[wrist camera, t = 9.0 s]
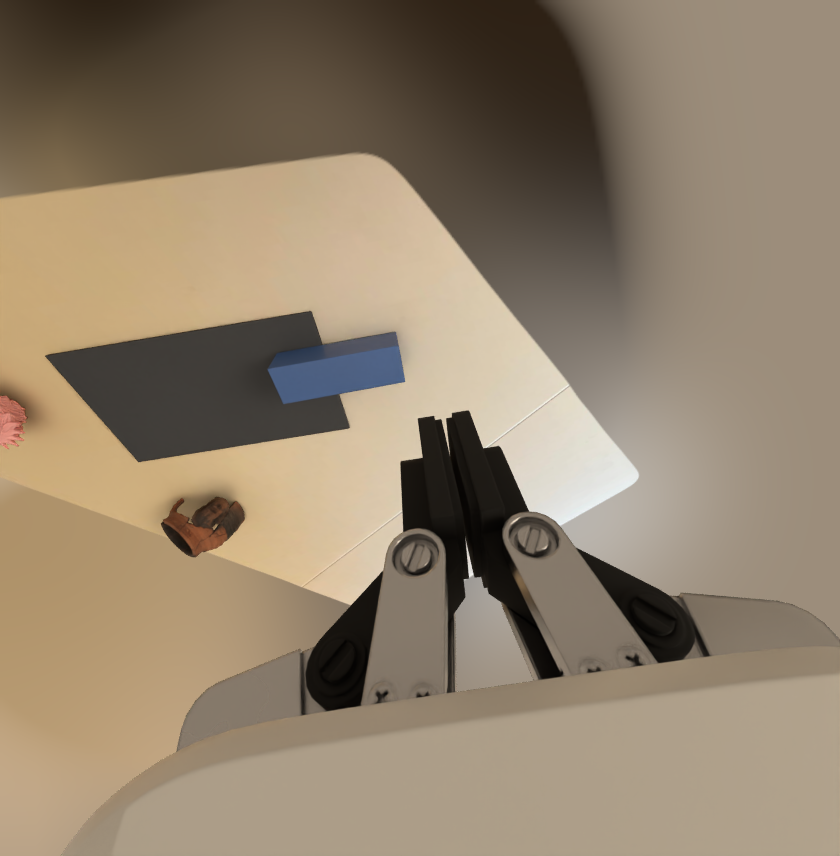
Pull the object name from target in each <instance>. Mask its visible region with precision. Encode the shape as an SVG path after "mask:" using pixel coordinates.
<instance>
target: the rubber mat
mask: <svg viewBox="0 0 840 856" xmlns="http://www.w3.org/2000/svg"><path fill="white" fill-rule="evenodd" d="M319 345H322V342H321V339H320V336H319V333H318V330H317V327H316V324H315V321H314V318H313V315H312V312H311V311H309V312H303V313H297V314H291V315H285V316H279V317H273V318H267V319H261V320H254V321H248V322H242V323H236V324H230V325H224V326H218V327H212V328H206V329H200V330H194V331H188V332H182V333H176V334H170V335H164V336H158V337H152V338H146V339H140V340H134V341H128V342H122V343H116V344H110V345H104V346H98V347H92V348H86V349H80V350H74V351H68V352H62V353H56V354H50V355H46V356H45V357H46V358H47V359H48V360H49V361H50V362H51V363H52V365H53V366H54V367H55V368H56V369H57V370H58V371H59V373H60V374H61V375H62V376H63V377H64V378H65V379H66V380H67V382H68V383H69V384H70V385H71V386H72V387H73V388H74V389H75V391H76V392H77V393H78V394H79V395H80V396H81V397H82V399H83V400H84V401H85V402H86V403H87V404H88V405H89V406H90V408H91V409H92V410H93V411H94V412H95V413H96V414H97V416H98V417H99V418H100V419H101V420H102V421H103V422H104V423H105V425H106V426H107V427H108V428H109V429H110V430H111V431H112V433H113V434H114V435H115V436H116V437H117V438H118V439H119V440H120V442H121V443H122V444H123V445H124V446H125V447H126V448H127V449H128V451H129V452H130V453H131V454H132V455H133V456H134V457H135V459H136V460H137V461H138V462H142V461H148V460H155V459H161V458H167V457H173V456H180V455H186V454H192V453H198V452H205V451H211V450H217V449H223V448H230V447H236V446H242V445H248V444H255V443H261V442H267V441H273V440H280V439H286V438H292V437H298V436H305V435H311V434H317V433H323V432H330V431H336V430H342V429H348V428H350V426H349V423H348V420H347V417H346V414H345V411H344V408H343V405H342V402H341V399H340V396H339V394H336V395H331V396H325V397H320V398H314V399H309V400H303V401H298V402H292V403H287V404H283V402H282V400H281V398H280V396H279V393H278V391H277V389H276V387H275V385H274V382H273V380H272V378H271V376H270V374H269V371H268V368H269V366H270V364H271V363H272V361H273V359H274V358H275V356H276V354H277V353H280V352H286V351H292V350H297V349H303V348H308V347H314V346H319Z"/></svg>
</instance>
